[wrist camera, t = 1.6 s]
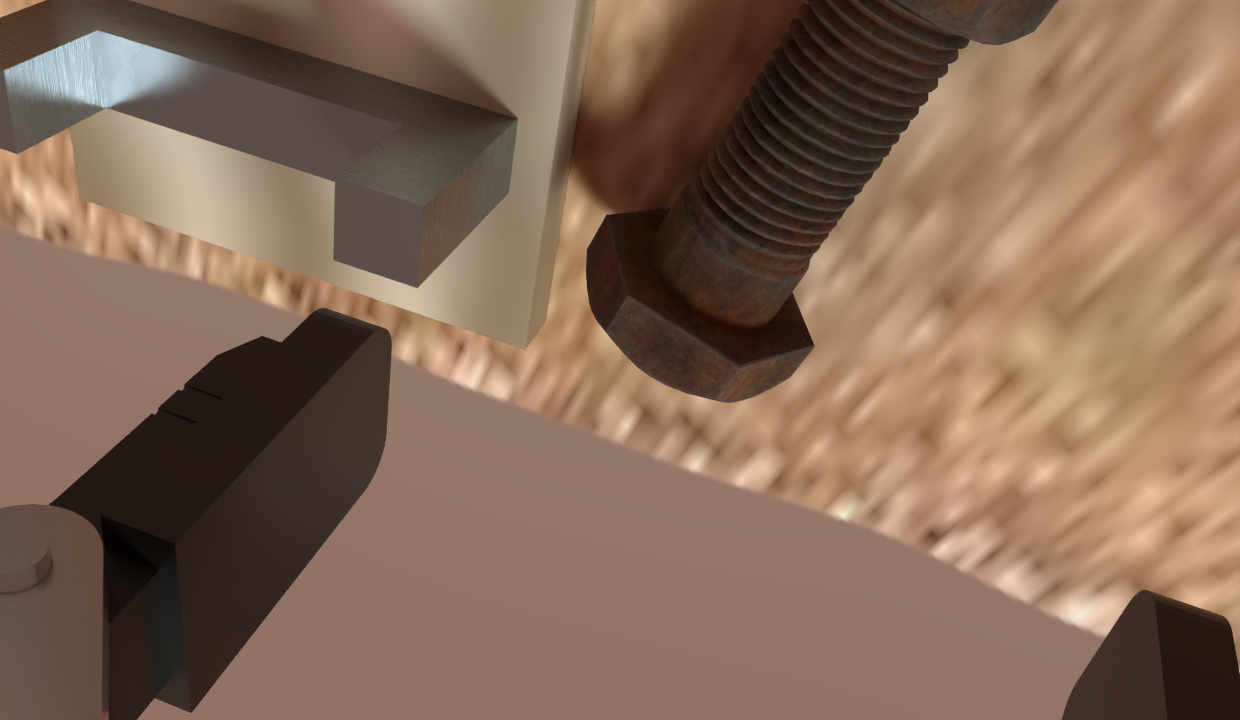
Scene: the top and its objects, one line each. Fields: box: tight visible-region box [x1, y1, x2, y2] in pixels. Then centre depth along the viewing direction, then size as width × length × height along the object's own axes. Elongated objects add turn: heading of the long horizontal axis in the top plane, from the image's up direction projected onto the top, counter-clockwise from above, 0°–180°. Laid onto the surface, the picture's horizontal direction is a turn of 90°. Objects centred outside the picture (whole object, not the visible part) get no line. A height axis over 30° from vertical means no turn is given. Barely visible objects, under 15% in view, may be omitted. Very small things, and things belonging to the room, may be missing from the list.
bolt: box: [586, 0, 1058, 403], centre depth 23 cm, size 6×5×15 cm
